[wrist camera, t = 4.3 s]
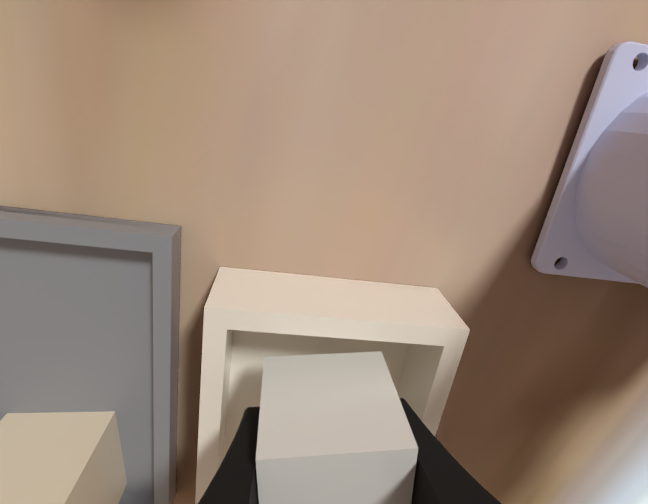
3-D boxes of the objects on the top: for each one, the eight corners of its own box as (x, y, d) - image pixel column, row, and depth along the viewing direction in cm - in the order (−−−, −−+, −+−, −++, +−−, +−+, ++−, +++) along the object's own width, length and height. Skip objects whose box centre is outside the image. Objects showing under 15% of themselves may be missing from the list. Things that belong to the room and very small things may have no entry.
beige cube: (115, 411, 16) (61, 508, 12) (127, 483, 17) (82, 590, 13) (7, 413, 15) (-85, 515, 11) (28, 486, 17) (-46, 598, 13)
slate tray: (181, 225, 14) (171, 237, 12) (175, 494, 18) (168, 519, 17) (-85, 196, 12) (-121, 206, 11) (-19, 490, 17) (-40, 517, 16)
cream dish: (436, 288, 15) (470, 329, 13) (375, 506, 20) (390, 573, 17) (220, 266, 14) (203, 307, 11) (205, 503, 19) (191, 574, 16)
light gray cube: (381, 351, 13) (418, 448, 10) (374, 439, 15) (404, 552, 11) (263, 356, 13) (255, 460, 9) (269, 446, 14) (263, 566, 11)
